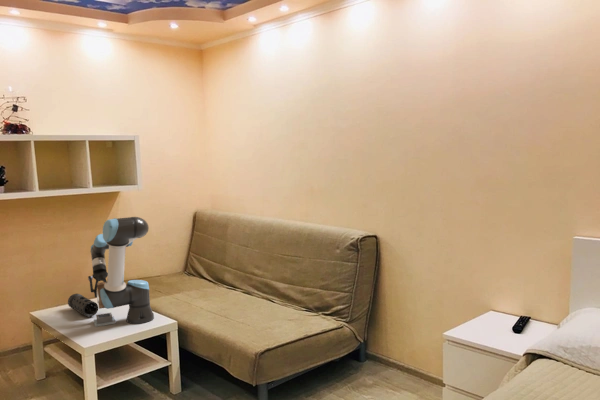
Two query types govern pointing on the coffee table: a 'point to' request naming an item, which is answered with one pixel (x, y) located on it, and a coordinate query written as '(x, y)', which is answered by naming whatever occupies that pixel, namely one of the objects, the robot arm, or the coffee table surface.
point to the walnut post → (99, 286)
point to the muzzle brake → (83, 305)
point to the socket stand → (104, 319)
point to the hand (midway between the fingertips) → (103, 300)
